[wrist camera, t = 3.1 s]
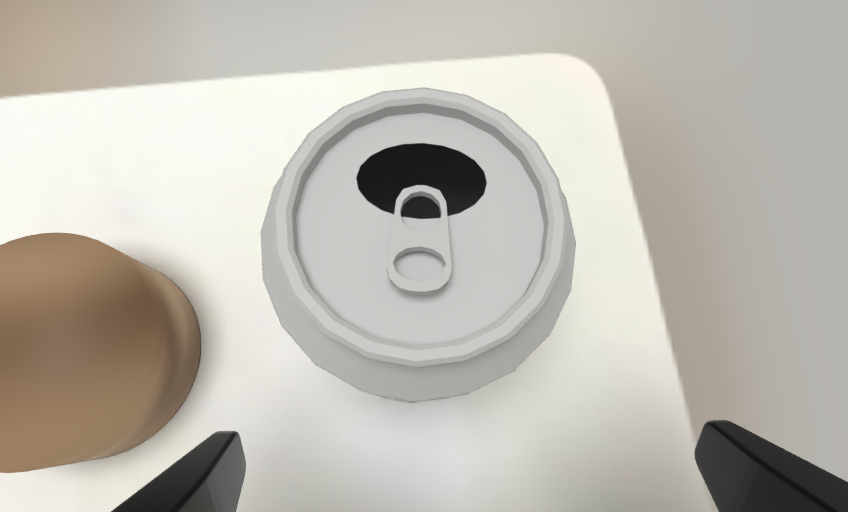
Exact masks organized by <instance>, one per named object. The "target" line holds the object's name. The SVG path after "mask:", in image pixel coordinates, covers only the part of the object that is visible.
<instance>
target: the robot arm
mask: <svg viewBox="0 0 848 512" xmlns="http://www.w3.org/2000/svg"><path fill="white" fill-rule="evenodd" d="M695 460H696V463H697V466H698V468H699V470H700V472H701V475H702V477H703V479H704V481H705V483H706V485H707V487H708V489H709V492H710V494H711V496H712V498H713V500H714V502H715V504H716V506H717V509H718V510H719V512H848V482H846V481H845V480H843V479H841V478H839V477H837V476H835V475H833V474H831V473H829V472H827V471H825V470H823V469H821V468H819V467H817V466H815V465H813V464H811V463H810V462H808V461H806V460H804V459H802V458H800V457H798V456H796V455H794V454H792V453H790V452H788V451H786V450H785V449H783V448H781V447H779V446H777V445H775V444H773V443H771V442H769V441H767V440H765V439H763V438H761V437H759V436H757V435H756V434H754V433H752V432H750V431H748V430H746V429H744V428H742V427H740V426H738V425H736V424H734V423H732V422H730V421H727V420H713V421H712V420H711V421H707V422H706V423H705V424H704V426H703V429H702V432H701V434H700V437H699V440H698V442H697V445H696V448H695ZM245 471H246V461H245V456H244V452H243V447H242V443H241V439H240V436H239V434H238V432H236V431H218V432H216V433H214V434H212V435H211V436H210V437H208V438H207V439H206V440H204V441H203V442H202V443H201V444H199V445H198V446H197V447H195V448H194V449H193V450H191V451H190V452H189V453H187V454H186V455H185V456H183V457H182V458H181V459H179V460H178V461H177V462H176V463H174V464H173V465H172V466H170V467H169V468H168V469H166V470H165V471H164V472H162V473H161V474H160V475H158V476H157V477H156V478H155V479H153V480H152V481H151V482H149V483H148V484H147V485H145V486H144V487H143V488H141V489H140V490H139V491H137V492H136V493H135V494H133V495H132V496H131V497H130V498H128V499H127V500H126V501H124V502H123V503H122V504H120V505H119V506H118V507H116V508H115V509H114V510H112V511H111V512H236V509H237V505H238V501H239V497H240V493H241V489H242V485H243V481H244V477H245Z"/></svg>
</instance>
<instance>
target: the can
mask: <svg viewBox="0 0 848 512" xmlns="http://www.w3.org/2000/svg"><path fill="white" fill-rule="evenodd" d="M261 247H262V270H263V281H264V284H265V286H266V288H267V291H268V293H269V296H270V298H271V301H272V303H273V306H274V308H275V311H276V313H277V316H278V318H279V321H280V323H281V326H282V327H283V328H284V329H285V330H286V332H287V333H288V334H289V335H290V336H291V337H292V338H293V340H294V341H295V342H296V343H297V344H298V345H299V346H300V348H301V349H302V350H303V351H304V352H305V353H306V354H307V356H308V357H309V358H310V359H311V360H312V361H313V362H314V364H315V365H317V366H319V367H321V368H322V369H324V370H326V371H327V372H329V373H331V374H333V375H334V376H336V377H338V378H340V379H341V380H343V381H345V382H347V383H348V384H350V385H352V386H354V387H355V388H357V389H359V390H361V391H363V392H367V393H370V394H373V395H376V396H380V397H384V398H389V399H394V400H399V401H404V402H409V403H415V402H422V401H430V400H437V399H443V398H449V397H454V396H459V395H465V394H468V393H470V392H472V391H474V390H476V389H478V388H480V387H482V386H484V385H486V384H488V383H490V382H492V381H494V380H496V379H498V378H500V377H502V376H504V375H507V374H509V373H511V372H513V371H514V370H515V369H516V368H517V367H518V366H519V365H520V364H521V363H522V362H523V361H524V360H525V359H526V358H527V357H528V356H529V355H530V354H531V353H532V352H533V351H534V350H535V349H536V348H537V347H538V346H539V345H540V344H541V343H542V342H543V341H544V340H545V339H546V338H547V337H548V336H549V335H550V333H551V331H552V329H553V327H554V325H555V323H556V321H557V318H558V316H559V314H560V312H561V310H562V308H563V306H564V304H565V301H566V299H567V297H568V295H569V293H570V291H571V284H572V275H573V266H574V256H575V247H576V241H575V236H574V232H573V227H572V223H571V218H570V214H569V209H568V205H567V200H566V197H565V195H564V194H563V192H562V190H561V187H560V183H559V179H558V177H557V176H556V174H555V172H554V171H553V169H552V167H551V165H550V164H549V162H548V160H547V159H546V157H545V155H544V154H543V152H542V150H541V148H540V147H539V145H538V143H537V142H536V141H535V140H534V139H533V138H531V137H530V136H529V135H528V134H527V133H526V132H525V131H524V130H523V129H522V128H520V127H519V126H518V125H517V124H516V123H515V122H514V121H513V120H512V119H511V118H509V117H508V116H507V115H506V114H505V113H503V112H501V111H499V110H497V109H494V108H492V107H490V106H488V105H486V104H484V103H482V102H480V101H478V100H476V99H474V98H472V97H470V96H468V95H464V94H458V93H452V92H447V91H441V90H436V89H430V88H415V89H404V90H394V91H383V92H380V93H377V94H375V95H372V96H370V97H367V98H364V99H362V100H359V101H357V102H354V103H352V104H349V105H347V106H344V107H342V108H341V109H339V110H338V111H337V112H335V113H334V114H333V115H332V116H330V117H329V118H328V119H326V120H325V121H324V122H323V123H321V124H320V125H319V126H317V127H316V128H315V129H314V130H312V131H311V132H310V133H308V135H307V136H306V138H305V139H304V141H303V142H302V144H301V145H300V146H299V148H298V149H297V151H296V152H295V154H294V155H293V157H292V158H291V159H290V161H289V162H288V164H287V165H286V167H285V168H284V171H283V174H282V176H281V177H280V179H279V180H278V182H277V183H276V185H275V186H274V189H273V192H272V195H271V199H270V202H269V206H268V209H267V212H266V216H265V219H264V223H263V226H262V229H261Z"/></svg>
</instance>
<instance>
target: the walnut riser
mask: <svg viewBox="0 0 848 512" xmlns="http://www.w3.org/2000/svg"><path fill="white" fill-rule="evenodd" d="M200 353H201V337H200V329H199V324H198V320H197V317H196V314H195V312H194V309H193V307H192V305H191V303H190V302H189V300H188V298H187V297H186V295H185V294H184V293H183V292H182V290H181V289H180V288H179V287H178V286H177V285H176V284H175V283H174V282H173V281H171V280H170V279H169V278H167V277H166V276H164V275H163V274H161V273H159V272H157V271H155V270H153V269H152V268H150V267H148V266H146V265H144V264H142V263H140V262H138V261H137V260H135V259H133V258H131V257H129V256H127V255H125V254H123V253H122V252H120V251H118V250H116V249H114V248H112V247H110V246H108V245H106V244H104V243H102V242H100V241H98V240H95V239H92V238H89V237H86V236H81V235H76V234H70V233H43V234H36V235H31V236H26V237H22V238H19V239H16V240H12V241H9V242H7V243H5V244H2V245H0V472H1V473H14V472H25V471H31V470H37V469H43V468H49V467H54V466H60V465H66V464H72V463H77V462H83V461H89V460H95V459H100V458H105V457H109V456H114V455H116V454H119V453H122V452H125V451H127V450H129V449H131V448H133V447H135V446H137V445H139V444H141V443H143V442H144V441H146V440H147V439H149V438H150V437H152V436H153V435H154V434H155V433H157V432H158V431H159V430H160V429H161V428H163V427H164V426H165V425H166V423H167V422H168V421H169V420H170V419H171V418H172V417H173V416H174V415H175V413H176V412H177V411H178V409H179V408H180V407H181V405H182V404H183V402H184V400H185V399H186V397H187V395H188V394H189V392H190V389H191V387H192V385H193V382H194V380H195V377H196V373H197V370H198V366H199V360H200Z"/></svg>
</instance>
